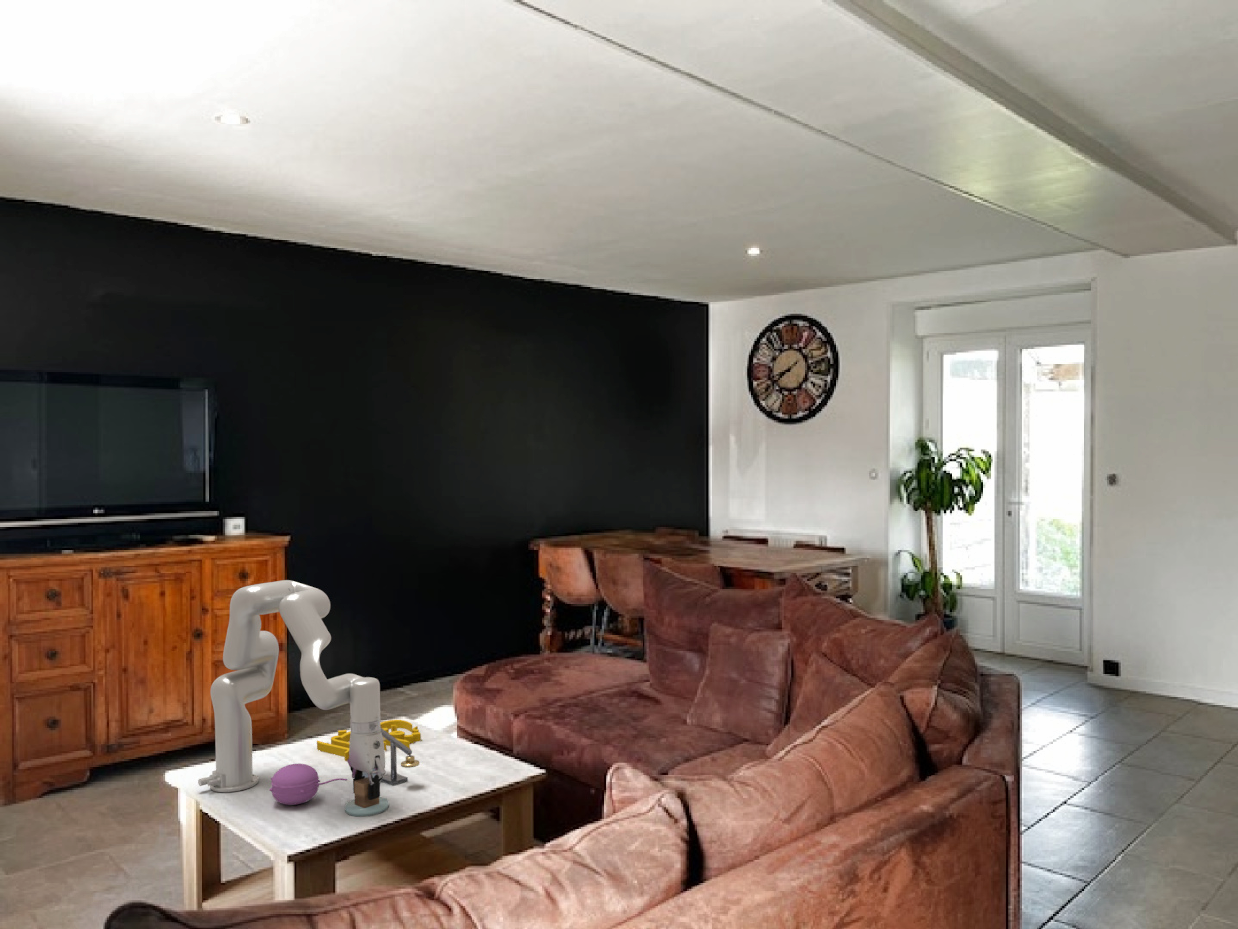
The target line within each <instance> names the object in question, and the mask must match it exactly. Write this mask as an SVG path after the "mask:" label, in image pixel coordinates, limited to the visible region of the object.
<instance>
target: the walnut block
mask: <svg viewBox="0 0 1238 929" xmlns="http://www.w3.org/2000/svg"><path fill="white" fill-rule="evenodd" d="M368 784H370V782H369V778H368V777H367V778H364V779H360V780H357V781H354V793H353V794H354V799H355V805H357V806H360V807H362V808H367V807H370V806H373V805H376V804H379V798H376V799H372V800H369V799H368Z"/></svg>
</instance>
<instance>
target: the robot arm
mask: <svg viewBox="0 0 1238 929" xmlns="http://www.w3.org/2000/svg"><path fill="white" fill-rule="evenodd" d="M330 610H331V601H330V599H329V597H328V595H327V593H325V592H324V591H323V590H321V589H319V588H316V587H313V586H310V585H308V584H305V583H300V582H298V581H294V580H289V579H285V580H284V579H283V580H278V581H271V582H264V583H263V582H262V583H256V584H252V585H247V586H243V587H241V588H238V589H237V590H236V591H234V593H233V594H232V596H231V599H230V602H229V620H228V626H227V631H226V636H225V642H224V647H223V653H222V654H223V655H222V662H223V665H224V666H225V667H226V668H227V669H229V670H231V672H227V673H224V674H221V675H219V676H218V677H216V679H215V680H214V681H213V683H212V684H211V686H210V690H209V691H210V697H211V698H210V699H211V703H212V706H213V713H214V734H215V736H214V738H215V770H213V771H212V772H211V773H212V774H210V775H209V776H208V777H207V776H206V777H200V778H199V779H198V780H197V782H198V783H197V784H198V787H203V786H206V785H207V786H208V787H209V788H210V790H211V791H213V792H219V793H230V792H231V793H232V792H239V791H243V790H246V789H250V788H252V787H254V786H256V785H257V784H258V783H259V776H257V774H253V770H254V769H253V735H252V734H253V728H252V726H253V725H252V724H253V723H252V718H251V715H250V713H249V711H248V709H247V708H246V704H248V703H251V702H254V701H258V700H261V699H264V698H265V697H267V696H268V694H269V693H270V692H271V691H272V689H273V688H272V687H273V684H274V680H275V676H276V670H277V666H278V661H279V653H280V649H279V641H278V639H277V637H276V636H275V634H273V633H272V632H270V631H267V630H261V629H262V620H261V616H260V615H262V616H263V615H268V614H274V613H279V614H280V615H279V616H281V619H282V620H283V622H284V624H285V626H286V628H287V629H288V631H289V632H290V634H291V636H292V638H293V640H294V642H295V644H296V645H297V647H298V649H299V651H300V652H301V656H300V657H301V658H300V662H299V672H300V673H299V675H300V680H301V684H302V686H303V688H304V690H305V691H306V693H307V695H308V697H309V699H310V700H311V701H312V703H313V704H314V705H315V706H316V708H319V709H321V710H324V711H327V710H329V711H330V710H331V709H335V708H338V707H341V706H345V705H349V707H350V710H349V712H350V716H349V717H350V719H349V720H350V731H351V735H350V741H349V742H350V746H349V759H348V760H347V764H348V767H349V770H350V771H351V778H352V779H353V781H352V786H353V787H352V790H353V793H352V794H354V781H357V780H360V779H364V778H365V776H363V773H364V772H366V773H368V778H369V782H370V784H368V799H369V800H372V799H376V798H379V797H381V783H382V782H381V779H382V778H383V777H384V776H385V775H386V772H387V771H386V769H385V768H386V756H385V752H386V751H385V750H384V742H383V737H382V733H381V732H380V731H381V729H380V722H381V684H380V681H379V679H378V678H375V677H370V676H366V677H365V676H361V675H357V674H355V673H345V674H341V675H337V676H334V677H331V678H328V679H327V676H326V674H324V671H323V669H322V666H321V663H320V657H321V653H322V651H323V650H324V649H325V648H326V647H327V646H328V645H329V644H330V642H331V641H332V636H331V633H330V632H329V631H328V628H327V626H326V625H325V623H324V621H323V619H324V618H325V617H326V616H327V615H328V614H329V613H330ZM374 768H375V771H373V769H374ZM374 773H375V774H376V775H375V776H374V778H373V775H372V774H374Z"/></svg>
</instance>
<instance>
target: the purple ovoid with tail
mask: <svg viewBox="0 0 1238 929" xmlns="http://www.w3.org/2000/svg"><path fill="white" fill-rule="evenodd" d="M319 778H320V777H319V774H318V772H317V770H316V769H315V768H314V767H313V766H312V765H309V764H307V763H306V764H305V763H291V764H287V765H285V766H282V767H281V768H279V769H278V770H276V772H275V773H274V774H273V776H272V777H270V780H271V782H270V784H271V787H270V788H269V791H271V794H272V797H273V799H274V800H275V801H277V802H278V803H280V804H282V805H287V806H289V805H290V806H295V805H300V804H303V803H306V802H308V801H310V800H312V799H313V798H314V796H315V795H316V794H317V792H318V790H319V787H320V786H324V785H325V784H326V785H327V784H328V783H331V782H336V781H346V782H347V781H348V779H347V778H343V777H342V778H341V777H340V778H333V779H330V780H327V781H324V782H321V780H320V779H319Z"/></svg>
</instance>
